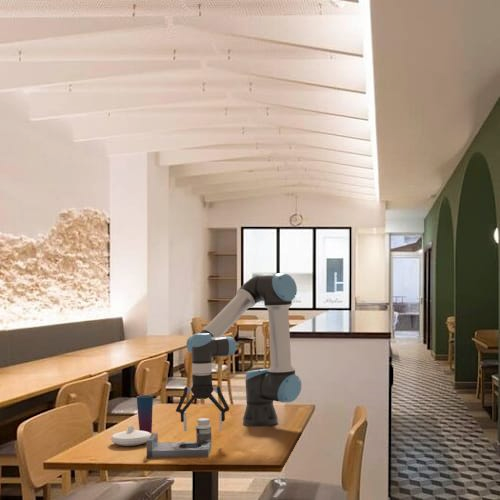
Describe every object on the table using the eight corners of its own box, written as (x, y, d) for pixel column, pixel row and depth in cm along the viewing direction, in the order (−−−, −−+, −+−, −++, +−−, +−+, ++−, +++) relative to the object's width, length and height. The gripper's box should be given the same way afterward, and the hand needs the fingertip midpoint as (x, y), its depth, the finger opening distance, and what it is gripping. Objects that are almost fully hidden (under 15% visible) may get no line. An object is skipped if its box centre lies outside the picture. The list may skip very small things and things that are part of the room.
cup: (150, 434, 298) (149, 397, 298) (135, 433, 299) (134, 397, 300) (156, 430, 305) (155, 394, 305) (140, 430, 306) (139, 394, 306)
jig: (211, 447, 270) (210, 431, 270) (208, 456, 257) (207, 439, 257) (152, 449, 270) (152, 433, 270) (146, 458, 257) (146, 441, 257)
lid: (116, 450, 271) (115, 431, 271) (106, 442, 285) (106, 424, 285) (156, 445, 277) (156, 427, 277) (145, 438, 291) (145, 420, 292)
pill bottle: (196, 444, 277) (195, 418, 277) (211, 443, 277) (210, 417, 278) (196, 447, 271) (196, 421, 272) (212, 446, 272) (211, 420, 272)
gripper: (235, 372, 279) (236, 427, 278) (170, 373, 279) (171, 428, 278) (234, 374, 271) (235, 431, 270) (168, 375, 272) (169, 432, 271)
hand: (203, 430), depth 274 cm, fingers open, 13 cm apart
